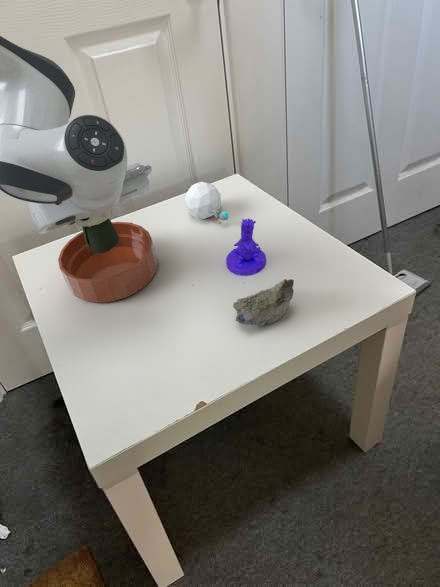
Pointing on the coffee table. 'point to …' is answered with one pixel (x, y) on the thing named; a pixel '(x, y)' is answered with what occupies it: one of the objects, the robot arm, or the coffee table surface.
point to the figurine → (246, 253)
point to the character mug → (99, 233)
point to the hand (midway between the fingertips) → (91, 211)
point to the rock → (265, 304)
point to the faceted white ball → (204, 201)
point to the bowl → (109, 265)
